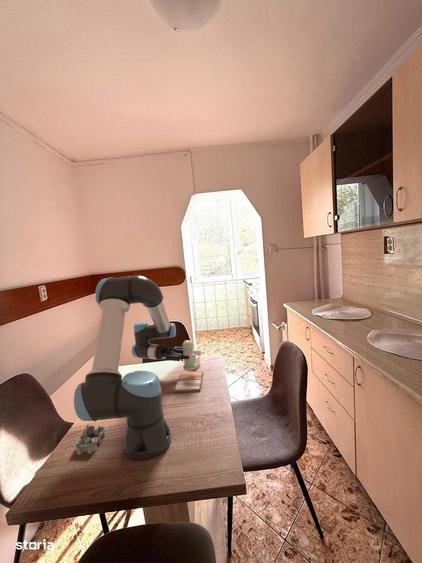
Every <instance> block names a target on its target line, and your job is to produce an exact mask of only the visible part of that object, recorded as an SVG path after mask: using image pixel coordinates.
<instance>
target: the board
mask: <svg viewBox="0 0 422 563" xmlns="http://www.w3.org/2000/svg"><path fill="white" fill-rule="evenodd" d="M203 377H204V371H192V372H189V371H188V372H180V374H179V376H178V379H177V381H176V384H175V386H174V390H173V393H174V394H179V393H194V392H195V393H197V392H198V393H199V392H201V389H202V384H203V380H204V379H203Z"/></svg>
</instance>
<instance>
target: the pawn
mask: <svg viewBox="0 0 422 563" xmlns="http://www.w3.org/2000/svg"><path fill="white" fill-rule="evenodd" d="M182 347H183V354H194V353H193V350H194V343H193V341H192V340H188V339H186V340H184V342H183V343H182ZM183 361H184V362H183V364H184V365H183V371H187V372H189V371H194V370H196V369H197V368H196V364H195V363H194V360H185V359H183Z"/></svg>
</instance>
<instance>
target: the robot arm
mask: <svg viewBox="0 0 422 563" xmlns="http://www.w3.org/2000/svg"><path fill="white" fill-rule="evenodd" d="M94 298H95V301H96V302H95V303H96V304H97V305H98V307H99V309H100V310H101V311H102V312H101V315H100V317H101V318H100V322H99V328H98V333H97V334H98V335H97V339H96V344H95V351H94V356H93V362H92V367H91V371H89V372H88V373H86V375H85V378H84V382H83V381H82V382H81V383H78V385H76V386H77V387H76V388H75V389H74V390H75V391H74V396H73V406H74V411H75V414H76V417H77V418H78V419H79V420H80V421H83V422H97V421H105V420H114V419H117V420H118V419H126V425H127V427H126V431H125V436H124V440H123V447H124V448H123V449H124V453H125V455H126V456H127V457H128V458H130V460H131V459H132V460H134V461H146V460H151V459H153V458H156V457H158V456H159V455H161V454H162V453H164V452H165V451H166V450H167V449H168V448H169V446H170V445H171V442H172V432H171V428H170V426H169V424H168V422H167V420H166V418H165V416H164V408H163V399H162V396H163V395H162V386H161V382H160V378H159V377H158V375H157V374H156V373H154V372H152V371H149V370H135V371H134V370H133V372H128V373H126V374H125V375H122V374H121V372H119V365H120V358H121V357H120V356H121V350H122V343H123V335H124V334H123V332H124V326H125V316H126V313H127V312H128V311H129V310H130V307H131V304H132V305H133V304H134V305H135V304H142V305H143V306H144V307H145V308H146V309H147V311H148V313H149V316H150V318H151V320H152V322H153V324H149V322H147V321H138V322H136V323H134V324H133V335H134V336H133V337H134V341H135V342H134V344H133V345H132V347H131V355H132V356H133V357H134V358H138V359H149V360H150V359H151V360H154V361H155V360H159V361H170V362H171V361H174V362H183V361H184V359H185V360H196V356H199V357H200V356H202V349H201V350H200V349H193V353H194V354H183V346H176V345H175V346H173V347H174V348H173V347H169V348H168V346H167V345H166V344H153V343H151V341H150V340H157V339H159V340H160V339H169V338H175V337H176V335H177V329H176V328H177V327H176V324H175V323H174V322H173V323H172V322H170V320H169V317H168V314H167V312H166V307H165V305H164V302H163V300H164V295H163V292H162V290H161V288H160V287H159V286H158V285H157V283H155V282H154V281H153V280H151V279H150V278H147V277H146V276H144V275H143V276H142V275H129V276H118V277H117V276H116V277H113V276H111V277H110V276H109V277H108V278H107V277H106V278H102V279H100V281H98V283H97V285H96V287H95V297H94Z"/></svg>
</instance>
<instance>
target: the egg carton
mask: <svg viewBox="0 0 422 563" xmlns="http://www.w3.org/2000/svg"><path fill="white" fill-rule="evenodd" d="M106 427H107V426H104V425H102V426H100V425H99V426H97V427H96V426H94V425H89V424H87V425H86V426H85V427H84V428H83V430H82V433H81V434H80V436H79V438H78V439H77V440H76V442H75V445H74V446H73V449H75V452H76V454H77V456H79V455H81V454H84V452H85V453H86V452H87V454H88V455H89V454H92V453H93V452H96V451H97V450H98V445H99V444H101V443H102V442H103V440H102V438H104V437H105V436H106ZM91 435H94V436H95V437H90V436H91Z"/></svg>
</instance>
